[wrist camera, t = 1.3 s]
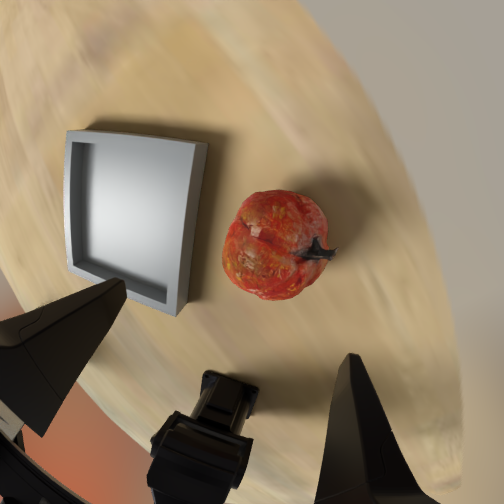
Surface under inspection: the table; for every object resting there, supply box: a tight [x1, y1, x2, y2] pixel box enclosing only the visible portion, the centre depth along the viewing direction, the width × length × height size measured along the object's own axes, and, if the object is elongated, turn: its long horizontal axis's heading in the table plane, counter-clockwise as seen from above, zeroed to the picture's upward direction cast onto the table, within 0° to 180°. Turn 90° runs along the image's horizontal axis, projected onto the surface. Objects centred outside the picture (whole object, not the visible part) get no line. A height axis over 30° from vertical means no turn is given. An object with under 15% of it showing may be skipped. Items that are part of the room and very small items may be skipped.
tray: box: [64, 129, 209, 317], centre depth 24 cm, size 15×14×2 cm
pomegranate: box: [222, 190, 339, 301], centre depth 20 cm, size 7×7×10 cm
